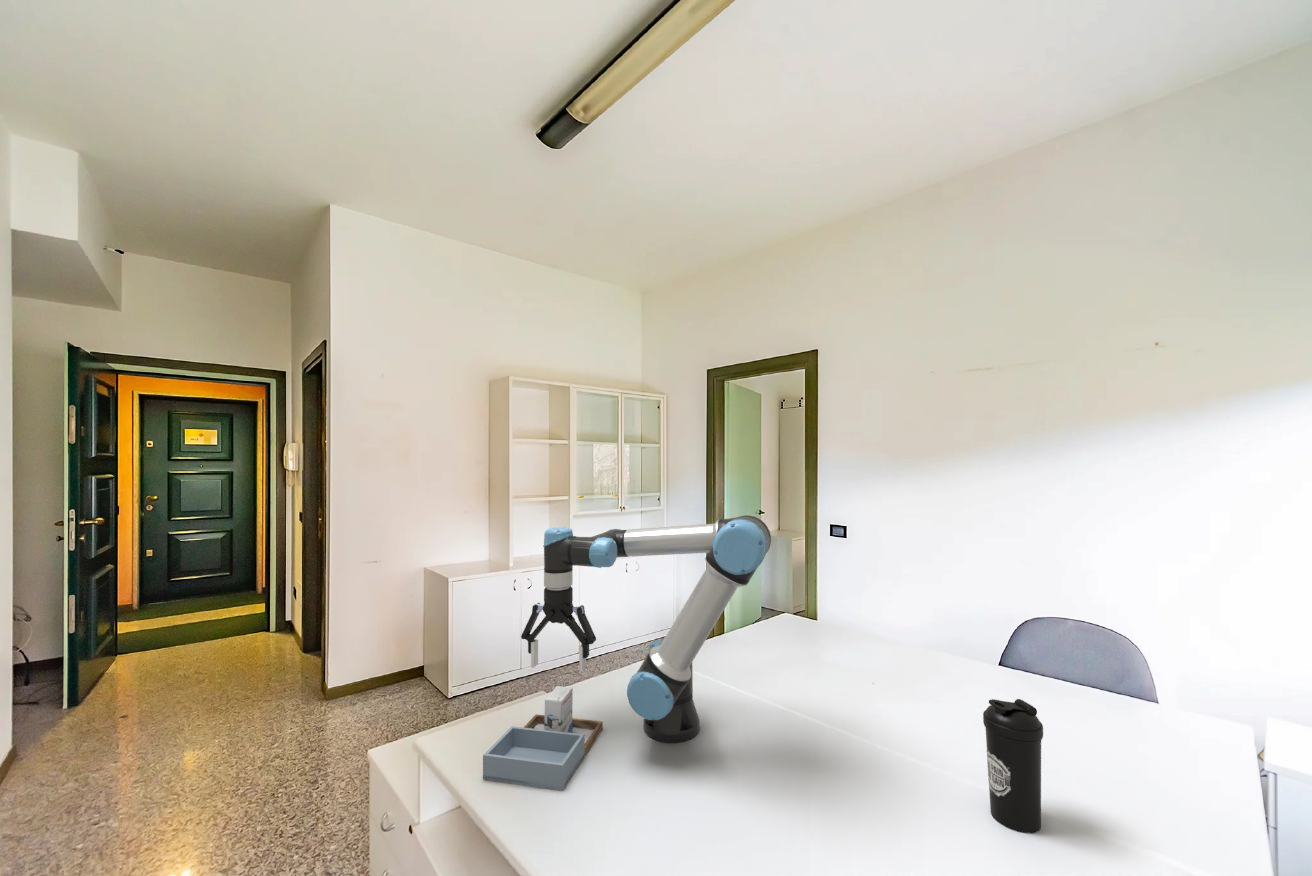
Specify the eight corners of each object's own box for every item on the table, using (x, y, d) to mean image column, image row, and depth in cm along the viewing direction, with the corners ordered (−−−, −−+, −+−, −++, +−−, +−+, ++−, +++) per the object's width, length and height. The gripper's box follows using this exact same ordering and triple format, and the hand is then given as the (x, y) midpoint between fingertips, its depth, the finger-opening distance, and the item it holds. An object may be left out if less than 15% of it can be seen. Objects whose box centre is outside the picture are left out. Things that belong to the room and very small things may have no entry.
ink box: (556, 729, 146) (556, 685, 147) (573, 730, 145) (573, 686, 146) (543, 745, 138) (543, 699, 138) (561, 747, 137) (561, 700, 137)
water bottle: (974, 804, 113) (971, 693, 114) (1020, 801, 114) (1016, 691, 115) (1010, 838, 103) (1006, 716, 104) (1059, 834, 104) (1055, 713, 105)
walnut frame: (602, 728, 146) (602, 721, 146) (585, 756, 133) (585, 748, 133) (535, 721, 150) (535, 714, 150) (512, 747, 137) (512, 739, 137)
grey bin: (584, 757, 132) (584, 734, 133) (562, 790, 119) (562, 765, 119) (511, 748, 137) (511, 726, 137) (482, 779, 123) (482, 755, 124)
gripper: (607, 585, 144) (607, 666, 143) (521, 581, 149) (521, 658, 149) (598, 592, 136) (598, 677, 136) (508, 587, 142) (508, 669, 141)
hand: (558, 668), depth 142 cm, fingers open, 13 cm apart
